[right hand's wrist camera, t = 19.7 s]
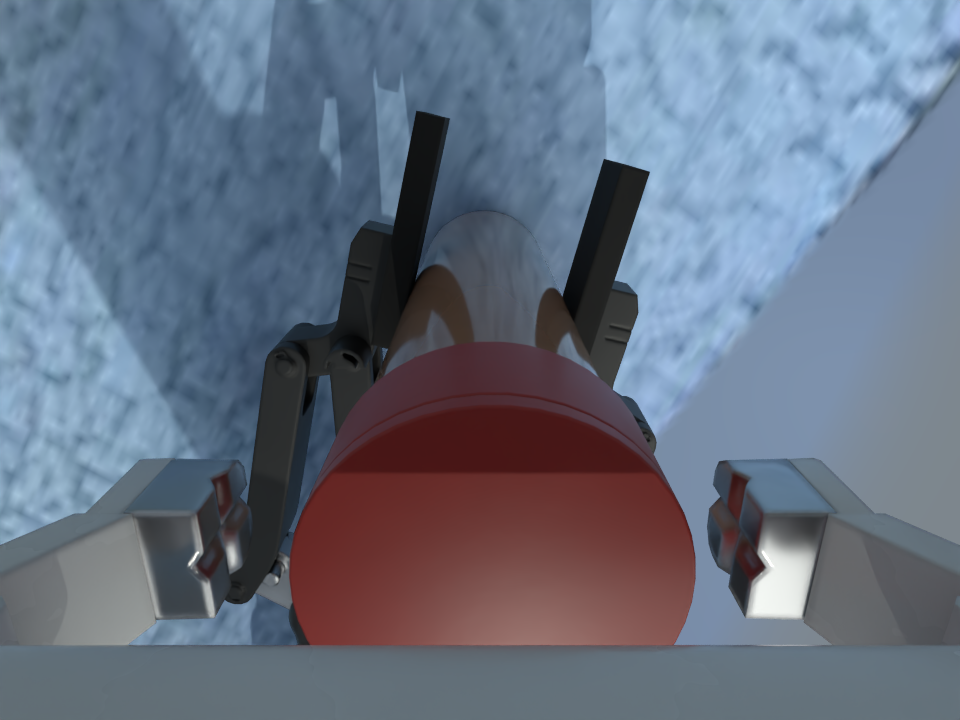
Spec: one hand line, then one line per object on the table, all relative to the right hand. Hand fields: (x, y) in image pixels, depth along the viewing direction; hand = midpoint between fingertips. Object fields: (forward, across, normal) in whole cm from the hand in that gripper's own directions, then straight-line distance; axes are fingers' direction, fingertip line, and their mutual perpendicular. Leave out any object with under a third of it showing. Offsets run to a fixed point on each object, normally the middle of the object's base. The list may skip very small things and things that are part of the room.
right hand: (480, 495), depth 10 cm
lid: (-2, 0, 0) cm, 2 cm away
